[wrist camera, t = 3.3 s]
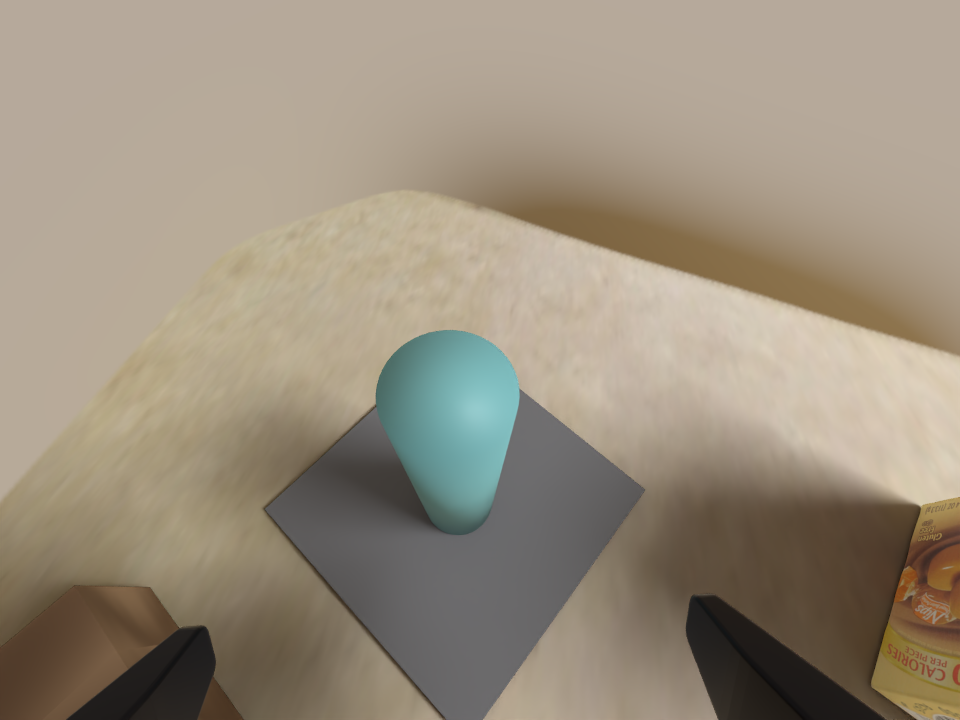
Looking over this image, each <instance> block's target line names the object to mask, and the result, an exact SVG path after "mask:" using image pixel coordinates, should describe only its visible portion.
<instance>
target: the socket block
mask: <svg viewBox="0 0 960 720" xmlns="http://www.w3.org/2000/svg"><path fill="white" fill-rule="evenodd" d="M178 629H179V628H178V626H177V625H176V624H175V622H174V621H173V619H172V618H171V616H170V615H169V614H168V612H167V611H166V609H165V608H164V607H163V605H162V604H161V602H160V601H159V599H158V598H157V597H156V595H155V594H154V592H153V591H152V590H151V588H147V587H110V586H73V587H72V588H71V589H70V590H69V591H67V592H66V593H65V594H64V595H63V596H62V597H60V598H59V599H58V600H57V601H56V602H54V603H53V604H52V605H51V606H50V607H48V608H47V609H46V610H45V611H44V612H42V613H41V614H40V615H39V616H38V617H36V618H35V619H34V620H33V621H32V622H30V623H29V624H28V625H27V626H26V627H25V628H23V629H22V630H21V631H20V632H19V633H17V634H16V635H15V636H14V637H13V638H11V639H10V640H9V641H8V642H7V643H5V644H4V645H3V646H2V647H1V648H0V720H66V719H67V718H68V717H69V716H70V715H72V714H73V713H74V712H75V711H77V710H78V709H79V708H80V707H82V706H83V705H84V704H85V703H87V702H88V701H89V700H90V699H92V698H93V697H94V696H95V695H97V694H98V693H99V692H100V691H102V690H103V689H104V688H105V687H106V686H108V685H109V684H110V683H111V682H113V681H114V680H115V679H116V678H118V677H119V676H120V675H121V674H123V673H124V672H125V671H126V670H128V669H129V668H130V667H131V666H133V665H134V664H135V663H136V662H138V661H139V660H140V659H141V658H142V657H144V656H145V655H146V654H147V653H149V652H150V651H151V650H152V649H154V648H155V647H156V646H157V645H159V644H160V643H161V642H162V641H164V640H165V639H166V638H167V637H169V636H170V635H171V634H172V633H174V632H175V631H176V630H178ZM198 720H243V719H242V717H241V716H240V714H239V713H238V711H237V710H236V709H235V707H234V706H233V704H232V703H231V702H230V700H229V699H228V697H227V696H226V694H225V693H224V692H223V690H222V689H221V687H220V686H219V685H218V683H217V682H216V680H215V679H214V677H212V680H211V683H210V686H209V689H208V692H207V694H206V697H205V700H204V703H203V706H202V709H201V711H200V714H199V717H198Z"/></svg>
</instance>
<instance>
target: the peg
mask: <svg viewBox="0 0 960 720" xmlns="http://www.w3.org/2000/svg"><path fill="white" fill-rule="evenodd" d="M519 398H520V396H519V384H518V379H517V376H516V373H515V371H514V369H513V367H512V364H511V363H510V361H509V360H508V358H507V357H506V356H505V355H504V354H503V352H502V351H501V350H500V349H498V348H497V347H496V346H495V345H494V344H492V343H491V342H489V341H488V340H486V339H484V338H482V337H480V336H477V335H475V334H472V333H468V332H464V331H456V330H443V331H435V332H430V333H427V334H424V335H421V336H419V337H416V338H414V339H412V340H411V341H409V342H407V343H406V344H404V345H403V346H402V347H400V348H399V349H398V350H397V351H396V352H395V353H394V354H393V355H392V356H391V358H390V359H389V360H388V361H387V363H386V365H385V366H384V368H383V370H382V372H381V374H380V377H379V380H378V384H377V389H376V407H377V412H378V416H379V419H380V421H381V423H382V425H383V427H384V430H385V431H386V433H387V435H388V437H389V439H390V441H391V443H392V445H393V447H394V449H395V451H396V453H397V455H398V457H399V459H400V461H401V463H402V465H403V467H404V469H405V471H406V473H407V475H408V477H409V479H410V481H411V483H412V485H413V487H414V489H415V491H416V493H417V495H418V497H419V499H420V501H421V503H422V505H423V507H424V509H425V510H426V512H427V514H428V516H429V518H430V520H431V521H432V523H433V524H434V525H435V526H436V527H437V528H438V529H440V530H441V531H443V532H445V533H448V534H451V535H465V534H469V533H471V532H473V531H475V530H477V529H478V528H479V527H481V526H482V525H483V524H484V522H485V521H486V520H487V518H488V516H489V514H490V511H491V508H492V504H493V500H494V496H495V493H496V489H497V485H498V481H499V478H500V474H501V470H502V466H503V463H504V459H505V455H506V451H507V448H508V444H509V440H510V436H511V433H512V429H513V425H514V421H515V418H516V414H517V410H518V406H519Z"/></svg>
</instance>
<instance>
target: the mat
mask: <svg viewBox="0 0 960 720" xmlns="http://www.w3.org/2000/svg"><path fill="white" fill-rule="evenodd" d="M519 396H520V398H519V406H518V410H517V414H516V418H515V421H514V425H513V429H512V433H511V436H510V440H509V444H508V448H507V451H506V455H505V459H504V463H503V466H502V470H501V474H500V478H499V481H498V485H497V489H496V493H495V496H494V500H493V504H492V508H491V511H490V514H489V516H488V518H487V520H486V521H485V522H484V524H483V525H482V526H481V527H479V528H478V529H477V530H475V531H473V532H471V533H469V534H465V535H451V534H448V533H445V532H443V531H441V530H440V529H438V528H437V527H436V526H435V525H434V524H433V523H432V521H431V520H430V518H429V516H428V514H427V512H426V510H425V509H424V507H423V505H422V503H421V501H420V499H419V497H418V495H417V493H416V491H415V489H414V487H413V485H412V483H411V481H410V479H409V477H408V475H407V473H406V471H405V469H404V467H403V465H402V463H401V461H400V459H399V457H398V455H397V453H396V451H395V449H394V447H393V445H392V443H391V441H390V439H389V437H388V435H387V433H386V431H385V430H384V427H383V425H382V423H381V421H380V419H379V416H378V412H377V407H375V408H374V409H373V410H372V411H371V412H370V413H369V414H368V415H367V416H366V417H365V418H363V419H362V420H361V421H360V422H359V423H358V424H357V425H356V426H355V427H354V428H353V429H352V430H350V431H349V432H348V433H347V434H346V435H345V436H344V437H343V438H342V439H341V440H340V441H338V442H337V443H336V444H335V445H334V446H333V447H332V448H331V449H330V450H329V451H328V452H326V453H325V454H324V455H323V456H322V457H321V458H320V459H319V460H318V461H317V462H316V463H314V464H313V465H312V466H311V467H310V468H309V469H308V470H307V471H306V472H305V473H304V474H302V475H301V476H300V477H299V478H298V479H297V480H296V481H295V482H294V483H293V484H292V485H290V486H289V487H288V488H287V489H286V490H285V491H284V492H283V493H282V494H281V495H280V496H278V497H277V498H276V499H275V500H274V501H273V502H272V503H271V504H270V505H269V506H268V507H266V508H265V510H266V511H267V513H268V514H269V515H270V516H271V517H272V518H273V520H274V521H275V522H276V523H277V524H278V525H279V526H280V528H281V529H282V530H283V531H284V532H285V533H286V535H287V536H288V537H289V538H290V539H291V540H292V542H293V543H294V544H295V545H296V546H297V547H298V548H299V550H300V551H301V552H302V553H303V554H304V555H305V557H306V558H307V559H308V560H309V561H310V562H311V564H312V565H313V566H314V567H315V568H316V569H317V570H318V572H319V573H320V574H321V575H322V576H323V577H324V579H325V580H326V581H327V582H328V583H329V584H330V586H331V587H332V588H333V589H334V590H335V591H336V592H337V594H338V595H339V596H340V597H341V598H342V599H343V601H344V602H345V603H346V604H347V605H348V606H349V607H350V609H351V610H352V611H353V612H354V613H355V614H356V616H357V617H358V618H359V619H360V620H361V621H362V623H363V624H364V625H365V626H366V627H367V628H368V629H369V631H370V632H371V633H372V634H373V635H374V636H375V638H376V639H377V640H378V641H379V642H380V643H381V645H382V646H383V647H384V648H385V649H386V650H387V651H388V653H389V654H390V655H391V656H392V657H393V658H394V660H395V661H396V662H397V663H398V664H399V665H400V666H401V668H402V669H403V670H404V671H405V672H406V673H407V675H408V676H409V677H410V678H411V679H412V680H413V682H414V683H415V684H416V685H417V686H418V687H419V688H420V690H421V691H422V692H423V693H424V694H425V695H426V697H427V698H428V699H429V700H430V701H431V702H432V704H433V705H434V706H435V707H436V708H437V709H438V710H439V712H440V713H441V714H442V715H443V716H444V717H445V719H446V720H483V718H484V717H485V716H486V714H487V713H488V711H489V710H490V709H491V707H492V706H493V704H494V703H495V702H496V700H497V699H498V697H499V696H500V694H501V693H502V692H503V690H504V689H505V687H506V686H507V685H508V683H509V682H510V680H511V679H512V678H513V676H514V675H515V673H516V672H517V670H518V669H519V668H520V666H521V665H522V663H523V662H524V661H525V659H526V658H527V656H528V655H529V654H530V652H531V651H532V649H533V648H534V646H535V645H536V644H537V642H538V641H539V639H540V638H541V637H542V635H543V634H544V632H545V631H546V630H547V628H548V627H549V625H550V624H551V622H552V621H553V620H554V618H555V617H556V615H557V614H558V613H559V611H560V610H561V608H562V607H563V606H564V604H565V603H566V601H567V600H568V598H569V597H570V596H571V594H572V593H573V591H574V590H575V589H576V587H577V586H578V584H579V583H580V582H581V580H582V579H583V577H584V576H585V574H586V573H587V572H588V570H589V569H590V567H591V566H592V565H593V563H594V562H595V560H596V559H597V557H598V556H599V555H600V553H601V552H602V550H603V549H604V548H605V546H606V545H607V543H608V542H609V541H610V539H611V538H612V536H613V535H614V533H615V532H616V531H617V529H618V528H619V526H620V525H621V524H622V522H623V521H624V519H625V518H626V517H627V515H628V514H629V512H630V511H631V509H632V508H633V507H634V505H635V504H636V502H637V501H638V500H639V498H640V497H641V495H642V494H643V493H644V491H645V489H644V488H642V487H641V486H640V485H639V484H637V483H636V482H635V481H634V480H632V479H631V478H630V477H629V476H627V475H626V474H625V473H624V472H623V471H621V470H620V469H619V468H618V467H616V466H615V465H614V464H613V463H611V462H610V461H609V460H608V459H606V458H605V457H604V456H603V455H601V454H600V453H599V452H598V451H596V450H595V449H594V448H593V447H591V446H590V445H589V444H588V443H586V442H585V441H584V440H583V439H581V438H580V437H579V436H578V435H576V434H575V433H574V432H573V431H572V430H570V429H569V428H568V427H567V426H565V425H564V424H563V423H562V422H560V421H559V420H558V419H557V418H555V417H554V416H553V415H552V414H550V413H549V412H548V411H547V410H545V409H544V408H543V407H542V406H540V405H539V404H538V403H537V402H535V401H534V400H533V399H532V398H530V397H529V396H528V395H527V394H525V393H524V392H523V391H522V390H520V389H519Z"/></svg>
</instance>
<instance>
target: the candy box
mask: <svg viewBox="0 0 960 720" xmlns="http://www.w3.org/2000/svg"><path fill="white" fill-rule="evenodd" d="M871 687H872V688H873V689H875V690H876V691H878V692H879V693H881V694H882V695H883V696H885V697H886V698H888V699H889V700H890V701H892V702H893V703H894V704H896V705H897V706H899V707H900V708H902V709H903V710H904V711H906V712H907V713H908V714H910V715H911V716H913V717H914V718H915V719H917V720H960V497H958V498H953V499H948V500H943V501H938V502H935V503H929V504H925V505H922V506H921V512H920V515H919V518H918V521H917V524H916V527H915V530H914V533H913V536H912V539H911V543H910V548H909V552H908V556H907V560H906V563H905V567H904V569H903V572H902V575H901V578H900V581H899V585H898V588H897V591H896V594H895V600H894V603H893V607H892V610H891V614H890V617H889V621H888V625H887V627H886V630H885V633H884V637H883V641H882V645H881V648H880V652H879V655H878V660H877V663H876V667H875V670H874V674H873V677H872V681H871Z"/></svg>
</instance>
